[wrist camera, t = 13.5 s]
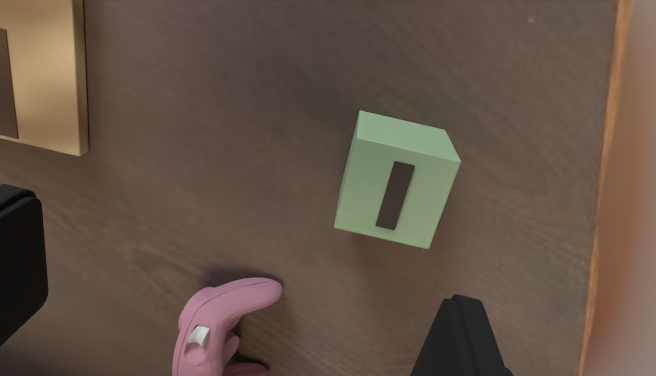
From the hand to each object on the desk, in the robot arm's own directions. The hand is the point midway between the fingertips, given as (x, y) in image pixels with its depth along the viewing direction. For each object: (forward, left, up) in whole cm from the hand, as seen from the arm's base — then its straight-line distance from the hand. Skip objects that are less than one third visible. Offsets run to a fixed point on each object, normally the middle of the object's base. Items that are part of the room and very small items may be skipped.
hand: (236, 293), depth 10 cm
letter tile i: (+2, +5, -16) cm, 17 cm away
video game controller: (+17, -3, -16) cm, 24 cm away
